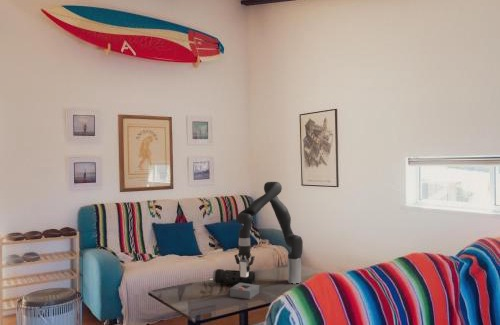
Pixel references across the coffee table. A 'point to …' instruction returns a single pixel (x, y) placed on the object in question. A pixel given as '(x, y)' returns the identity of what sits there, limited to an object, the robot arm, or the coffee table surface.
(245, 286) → the socket
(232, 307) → the coffee table surface
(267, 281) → the coffee table surface
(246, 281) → the muzzle brake
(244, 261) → the plug
